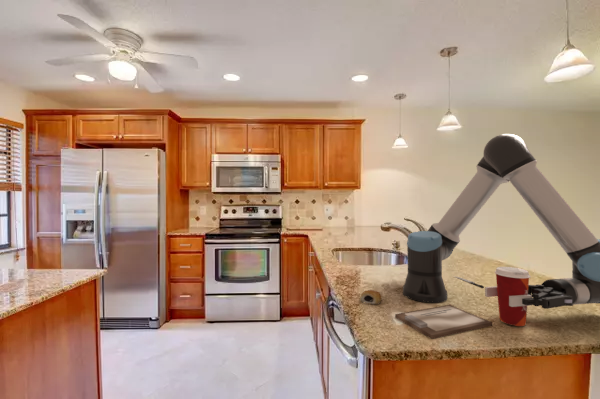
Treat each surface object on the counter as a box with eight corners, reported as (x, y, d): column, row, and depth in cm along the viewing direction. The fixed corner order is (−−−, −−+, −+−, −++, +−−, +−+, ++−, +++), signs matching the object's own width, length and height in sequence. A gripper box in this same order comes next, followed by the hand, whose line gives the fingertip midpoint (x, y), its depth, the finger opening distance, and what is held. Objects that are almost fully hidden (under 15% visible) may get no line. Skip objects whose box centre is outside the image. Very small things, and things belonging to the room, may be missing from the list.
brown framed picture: (395, 317, 84) (395, 311, 84) (449, 307, 91) (449, 301, 92) (431, 339, 71) (431, 331, 71) (491, 325, 78) (491, 318, 78)
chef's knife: (456, 276, 131) (450, 276, 131) (456, 274, 131) (451, 273, 131) (488, 289, 112) (482, 288, 112) (489, 286, 112) (482, 285, 112)
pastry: (366, 295, 105) (366, 285, 105) (385, 298, 101) (385, 287, 101) (359, 303, 97) (359, 292, 97) (378, 306, 93) (378, 295, 93)
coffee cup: (537, 329, 75) (537, 273, 75) (503, 326, 77) (503, 272, 77) (520, 316, 83) (519, 266, 83) (489, 314, 85) (489, 265, 85)
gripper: (605, 318, 73) (532, 325, 69) (530, 293, 93) (470, 297, 89) (605, 290, 73) (532, 295, 69) (530, 270, 93) (470, 274, 89)
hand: (497, 296), depth 79 cm, fingers closed on coffee cup, 7 cm apart
